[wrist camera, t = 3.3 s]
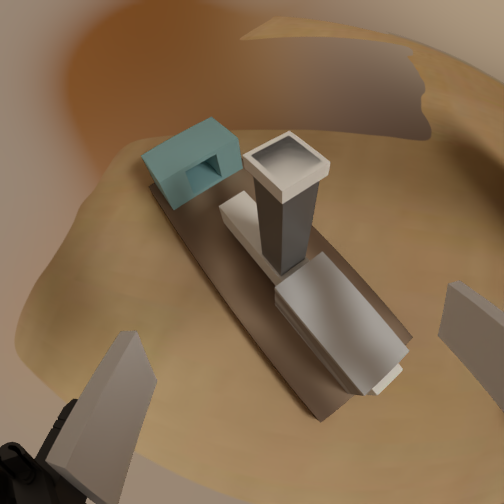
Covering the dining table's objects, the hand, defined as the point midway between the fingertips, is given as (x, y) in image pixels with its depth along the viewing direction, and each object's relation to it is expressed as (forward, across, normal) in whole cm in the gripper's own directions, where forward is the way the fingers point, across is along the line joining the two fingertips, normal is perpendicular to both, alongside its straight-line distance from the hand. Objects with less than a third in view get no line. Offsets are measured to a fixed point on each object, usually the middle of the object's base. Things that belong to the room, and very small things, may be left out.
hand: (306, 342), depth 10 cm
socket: (+27, -8, +6) cm, 29 cm away
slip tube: (+14, +2, -5) cm, 15 cm away
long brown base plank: (+20, -1, -3) cm, 20 cm away
